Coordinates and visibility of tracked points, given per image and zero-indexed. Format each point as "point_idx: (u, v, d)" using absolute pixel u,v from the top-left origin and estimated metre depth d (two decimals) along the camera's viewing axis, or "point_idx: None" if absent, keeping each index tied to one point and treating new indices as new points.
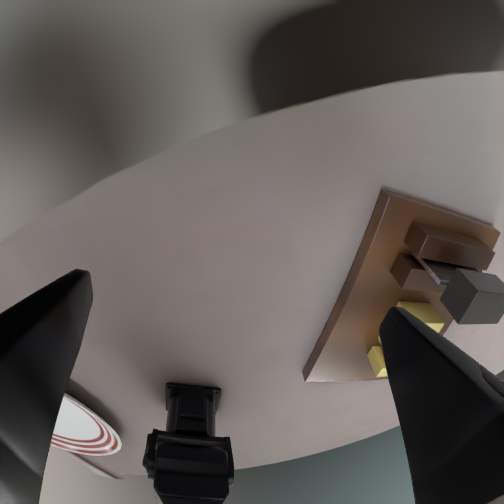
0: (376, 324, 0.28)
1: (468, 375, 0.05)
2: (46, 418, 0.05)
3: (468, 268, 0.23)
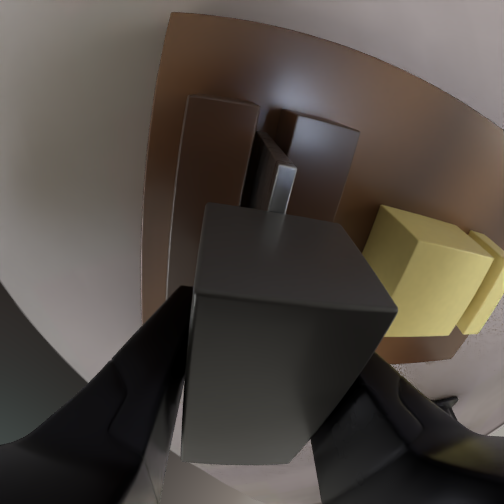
0: None
1: (373, 389, 0.05)
2: (168, 446, 0.05)
3: (251, 190, 0.09)
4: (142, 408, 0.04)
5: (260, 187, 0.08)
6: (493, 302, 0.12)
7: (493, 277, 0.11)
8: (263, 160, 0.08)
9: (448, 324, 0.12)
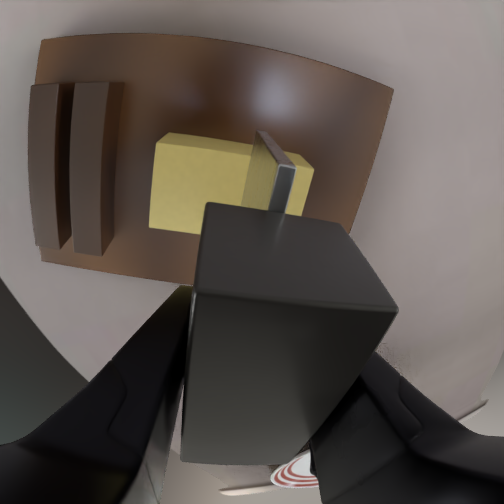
0: None
1: (373, 389, 0.05)
2: (168, 446, 0.05)
3: (251, 190, 0.09)
4: (142, 408, 0.04)
5: (260, 187, 0.08)
6: (291, 209, 0.15)
7: None
8: (263, 160, 0.08)
9: None
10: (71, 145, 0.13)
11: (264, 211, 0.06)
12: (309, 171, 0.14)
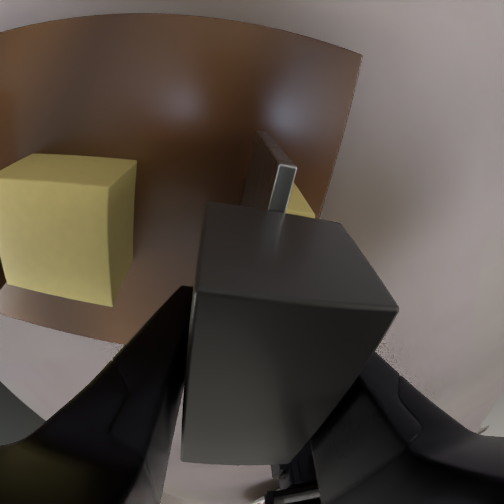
0: None
1: (372, 389, 0.05)
2: (169, 446, 0.05)
3: (251, 190, 0.09)
4: (143, 408, 0.04)
5: (260, 186, 0.08)
6: None
7: None
8: (263, 159, 0.08)
9: (94, 287, 0.10)
10: None
11: (264, 211, 0.06)
12: None
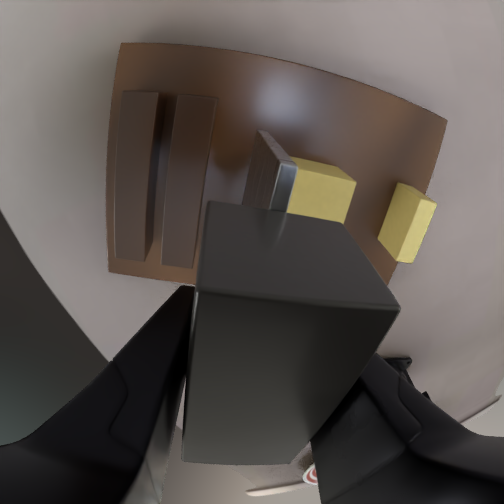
0: None
1: (372, 389, 0.05)
2: (169, 446, 0.05)
3: (252, 189, 0.09)
4: (143, 408, 0.04)
5: (261, 186, 0.08)
6: (418, 233, 0.18)
7: (413, 212, 0.17)
8: (264, 159, 0.08)
9: None
10: (171, 158, 0.15)
11: (266, 210, 0.06)
12: (434, 205, 0.17)
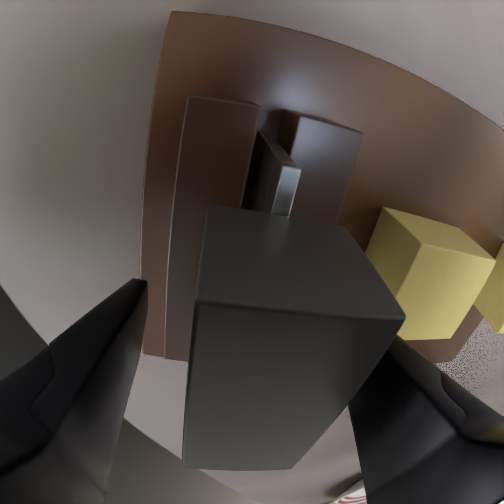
0: None
1: (422, 383, 0.05)
2: (112, 436, 0.05)
3: (254, 192, 0.09)
4: (63, 390, 0.04)
5: (263, 189, 0.08)
6: None
7: None
8: (266, 161, 0.08)
9: (450, 327, 0.12)
10: None
11: (268, 214, 0.06)
12: None
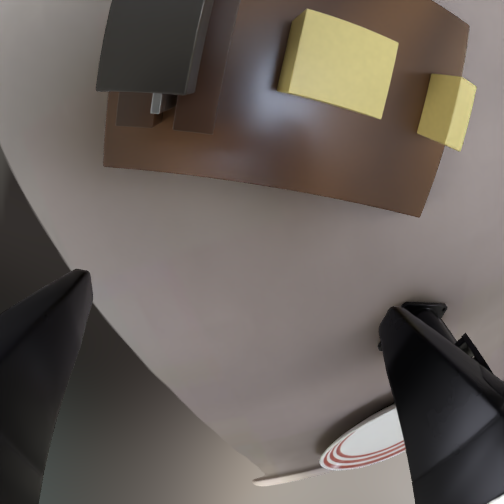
0: (324, 121, 0.16)
1: (468, 375, 0.05)
2: (46, 418, 0.05)
3: None
4: None
5: None
6: (463, 115, 0.13)
7: (455, 91, 0.13)
8: None
9: (374, 101, 0.13)
10: None
11: None
12: (474, 87, 0.12)
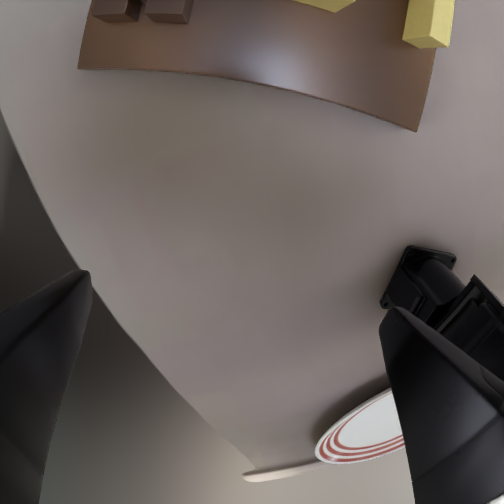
0: (301, 19, 0.13)
1: (468, 375, 0.05)
2: (46, 418, 0.05)
3: None
4: None
5: None
6: (445, 13, 0.10)
7: None
8: None
9: None
10: None
11: None
12: None
